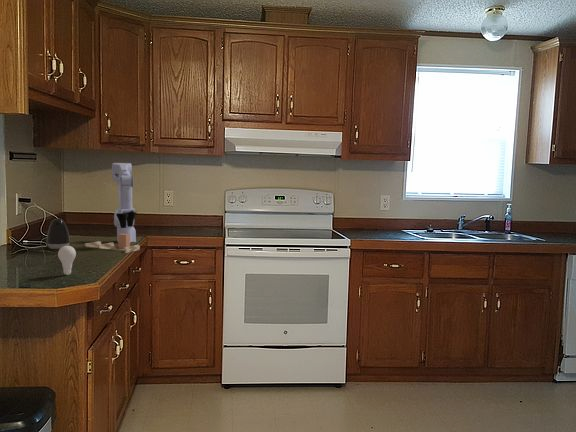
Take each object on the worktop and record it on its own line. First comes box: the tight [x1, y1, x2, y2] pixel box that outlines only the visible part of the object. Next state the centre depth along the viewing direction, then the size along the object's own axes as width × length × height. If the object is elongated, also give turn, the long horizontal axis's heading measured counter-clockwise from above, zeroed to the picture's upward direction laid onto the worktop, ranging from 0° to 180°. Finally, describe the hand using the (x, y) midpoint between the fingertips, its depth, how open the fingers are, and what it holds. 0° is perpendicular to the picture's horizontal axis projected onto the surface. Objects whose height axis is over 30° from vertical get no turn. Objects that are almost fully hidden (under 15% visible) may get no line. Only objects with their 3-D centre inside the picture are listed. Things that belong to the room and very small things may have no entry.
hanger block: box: [117, 233, 131, 249], centre depth 243 cm, size 4×4×7 cm
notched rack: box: [84, 240, 141, 254], centre depth 246 cm, size 10×25×2 cm, turn 68°
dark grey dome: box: [46, 217, 71, 250], centre depth 241 cm, size 10×10×15 cm
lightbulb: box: [57, 245, 77, 276], centre depth 187 cm, size 6×6×11 cm
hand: (126, 227), depth 250 cm, fingers open, 7 cm apart
